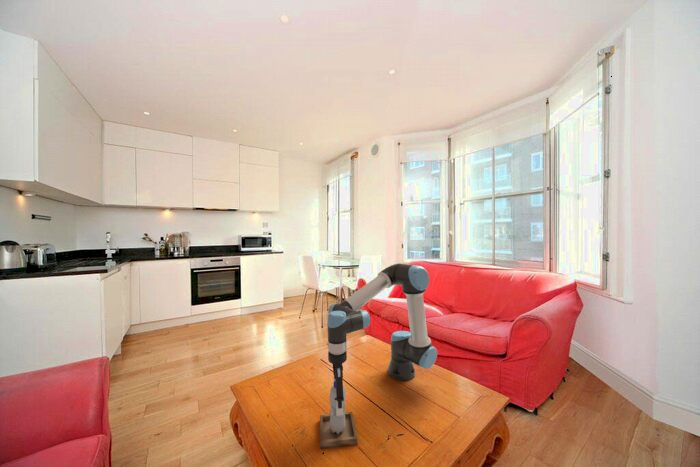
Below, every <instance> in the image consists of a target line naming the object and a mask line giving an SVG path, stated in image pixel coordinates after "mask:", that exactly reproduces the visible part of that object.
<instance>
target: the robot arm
mask: <svg viewBox="0 0 700 467" xmlns="http://www.w3.org/2000/svg"><path fill="white" fill-rule="evenodd" d="M429 283H430V274H429V272H428V271H427V269H426V268H424V267H423V266H420V265H417V264H405V263H401V262H400V263H394V264H391V265H390V266H387V267H385V268H384V269H382V270H381V271H379V272H378V273H377V276H376V277H374V278H372V280H370V281H368V282H367V283H366V284H365V285H363V286H362V287H361V288H359V289H358V290H356V291H355V292H354V293H352V294H351V295H350V296H348V297H346V298H345V299H344V300H343V301H341V302H340V303H338V302H334V303H331V305H330V306H329V307H328V310H327V312H328V313H327V323H326V324H327V325H326V326H327V343H326V346H327V347H328V348H327V350H328V352H327V361H328V362H329V363H330V364H331V365H332V372H333V382H334V381H335V380H336V398H335V400H336V416H339V415H344V413H343V401H344V397H343V386H344V381H343V379H344V378H343V377H344V375H343V370H344V367H343V364H344V363H345V362H346V361H347V360H348V359H347V358H348V354H347V349H348V348H347V347H348V346H347V345H348V344H347V342H348V339H347V335H348V334H351V333H354V332H357V331H361V330H364V329H366V328H368V327H369V326H370V325H371V317H370V314H369V312H368V311H367V310H364V309H361V308H362V307H364V306H365V305H366V304H367V303H369V302H370V301H371V300H373V299H374V298H375V297H376V296H378V295H379V294H380V293H381V292H382V291H384V290H386V289H389V288H391V287H392V286H401V290H402V293H403V294H404V295H405V297H406V298H405V299H406V308H407V313H408V314H407V315H408V326H409V331H408V330H407V331H406V330H397V331H394V332H392V334H391V336H390V337H391V339H390V351H391V352H390V355H391V357H390V360H389V364H388V368H387V369H388V370H387V372H388V375H389V376H390V377H391V378H392V379H395V380H399V381H411V380H413V379H414V378H415V376H416V370H415V369H416V368H415V365H416V366H418V367H419V368H423V369H425V370H428V369H431V368H432V367H433V366H434V365H435V363H436V362H437V361H436V360H437V357H438V350H437V348H436V347H435V346H433V345H432V340H431V338H430V337H429V336H428V328H427V320H426V318H427V317H426V311H425V310H426V309H425V301H424V294H425V292H426V290H427V288H428V287H429V285H430V284H429ZM360 309H361V310H360Z"/></svg>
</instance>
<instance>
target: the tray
mask: <svg viewBox="0 0 700 467" xmlns="http://www.w3.org/2000/svg"><path fill="white" fill-rule="evenodd" d="M319 426H320V427H319V432H320V433H319V434H320V436H319V437H320V438H319V440H320V450H323V449H331V448H340V447H348V446H357V445H358V435H357V429H356V424H355V420H354V414H353V411H349V412H348V411H347V412H346V411H345V429H344V431H343V433H341V432H340V433H339V434H337V433H336V432H335V433H333V432H332V430H331V429H330V413H327V414H326V413H325V414H320V415H319Z"/></svg>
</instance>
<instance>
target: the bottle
mask: <svg viewBox="0 0 700 467" xmlns="http://www.w3.org/2000/svg"><path fill="white" fill-rule="evenodd" d="M343 397H344V401H343V413H344V415H339V416H336V400H335V398H336V380H335V381H334V380H333V385H332V386H331V387H330V390H329V397H328V398H329V403H330V409H329V411H330V413H329V414H330V429H331V430H332V432H333V433H335V432H336V433H337V434H339V433H340V432H341V433H343V431H344V429H345V413H346V401H347V400H346V399H347V398H346V397H347V394H346V387H345V386H344V385H343Z"/></svg>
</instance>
